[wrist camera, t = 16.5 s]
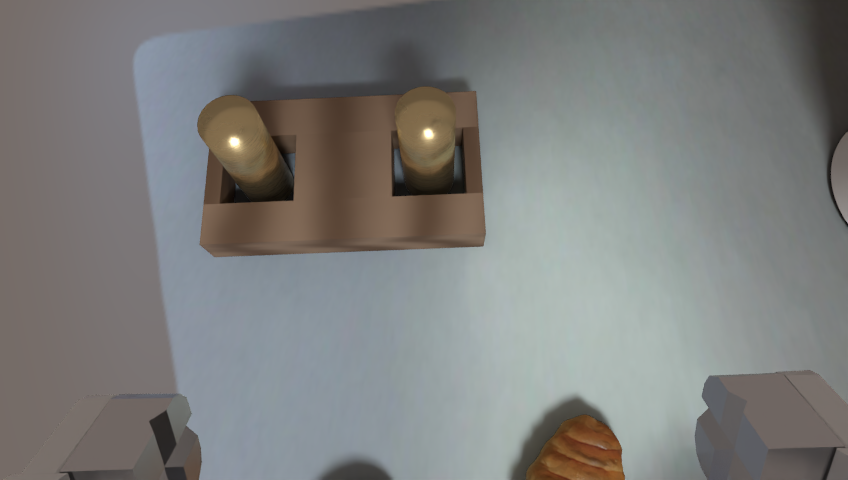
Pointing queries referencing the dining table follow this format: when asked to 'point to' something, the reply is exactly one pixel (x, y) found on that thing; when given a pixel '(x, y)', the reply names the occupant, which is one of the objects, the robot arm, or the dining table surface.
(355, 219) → the wooden socket block
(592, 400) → the dining table surface
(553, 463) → the pastry
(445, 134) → the loose billet
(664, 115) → the dining table surface
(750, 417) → the robot arm
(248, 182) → the seated billet
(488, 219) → the dining table surface
